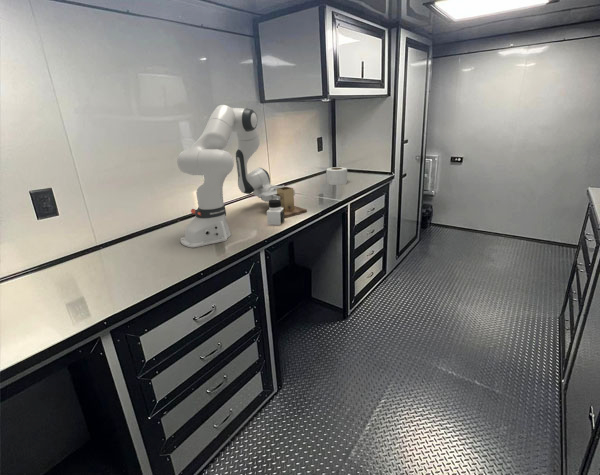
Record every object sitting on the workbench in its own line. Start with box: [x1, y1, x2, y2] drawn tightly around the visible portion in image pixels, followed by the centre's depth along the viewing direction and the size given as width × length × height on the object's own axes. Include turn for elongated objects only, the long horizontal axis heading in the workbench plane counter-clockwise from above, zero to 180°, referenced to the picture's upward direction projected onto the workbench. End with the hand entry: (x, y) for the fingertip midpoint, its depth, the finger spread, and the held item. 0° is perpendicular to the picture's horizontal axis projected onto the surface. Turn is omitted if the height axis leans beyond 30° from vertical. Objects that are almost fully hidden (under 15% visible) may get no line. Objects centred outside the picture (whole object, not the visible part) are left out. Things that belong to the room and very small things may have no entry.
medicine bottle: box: [266, 199, 286, 226], centre depth 171 cm, size 7×7×12 cm
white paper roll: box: [325, 166, 348, 186], centre depth 256 cm, size 16×15×11 cm
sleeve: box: [277, 186, 295, 212], centre depth 187 cm, size 6×8×12 cm
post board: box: [265, 205, 308, 219], centre depth 188 cm, size 16×16×10 cm
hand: (286, 196), depth 186 cm, fingers open, 7 cm apart
